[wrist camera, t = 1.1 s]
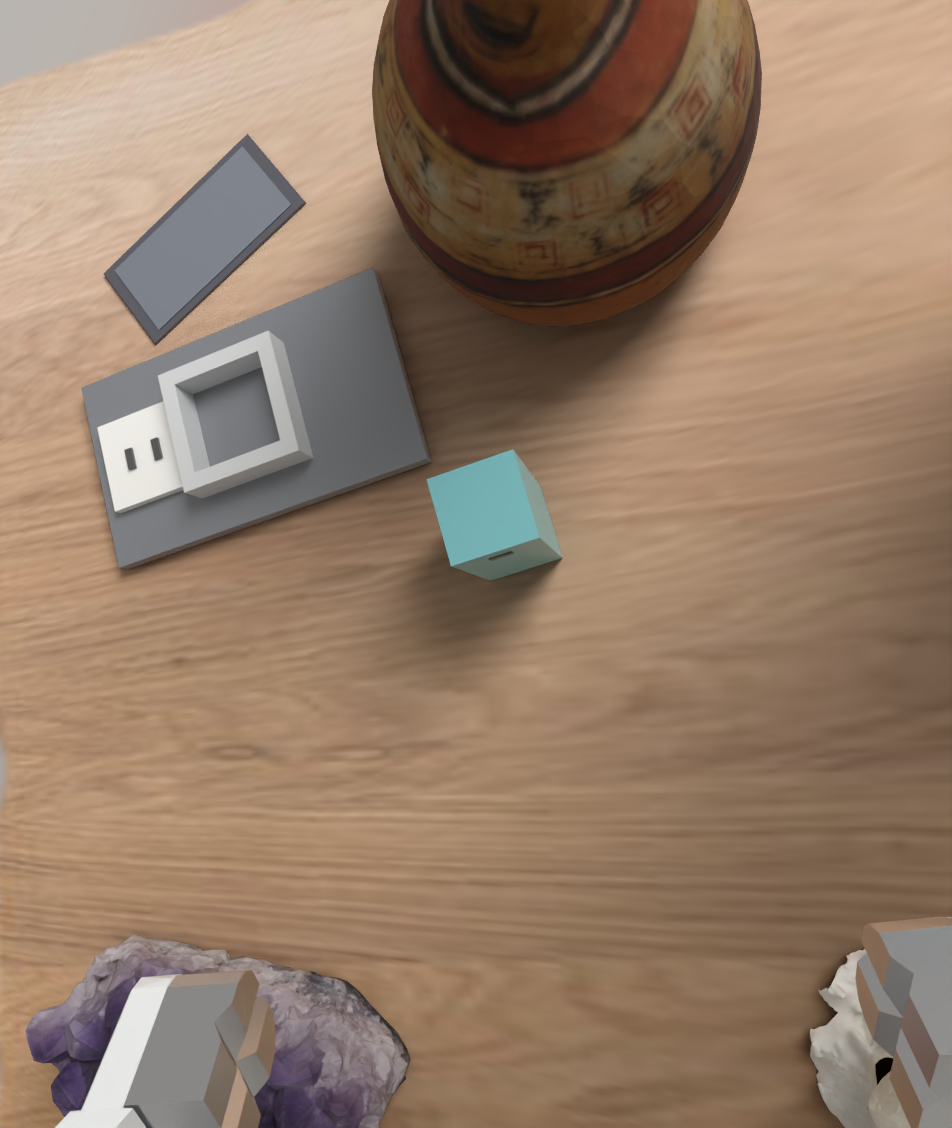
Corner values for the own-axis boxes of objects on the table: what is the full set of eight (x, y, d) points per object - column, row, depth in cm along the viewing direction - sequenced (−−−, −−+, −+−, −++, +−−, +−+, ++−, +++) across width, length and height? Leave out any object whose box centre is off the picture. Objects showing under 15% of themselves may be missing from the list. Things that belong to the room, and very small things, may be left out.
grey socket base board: (378, 274, 49) (361, 251, 46) (431, 462, 47) (416, 450, 44) (91, 392, 54) (59, 378, 51) (128, 569, 51) (97, 564, 48)
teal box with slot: (540, 486, 46) (512, 449, 37) (563, 559, 45) (539, 538, 36) (470, 509, 46) (426, 479, 38) (490, 581, 46) (451, 567, 37)
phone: (111, 278, 55) (102, 273, 54) (253, 141, 53) (246, 133, 52) (162, 347, 53) (154, 343, 52) (309, 208, 52) (304, 201, 51)
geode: (416, 934, 45) (357, 1047, 35) (417, 1127, 45) (359, 1292, 35) (107, 903, 49) (-25, 995, 39) (110, 1080, 49) (-19, 1217, 39)
